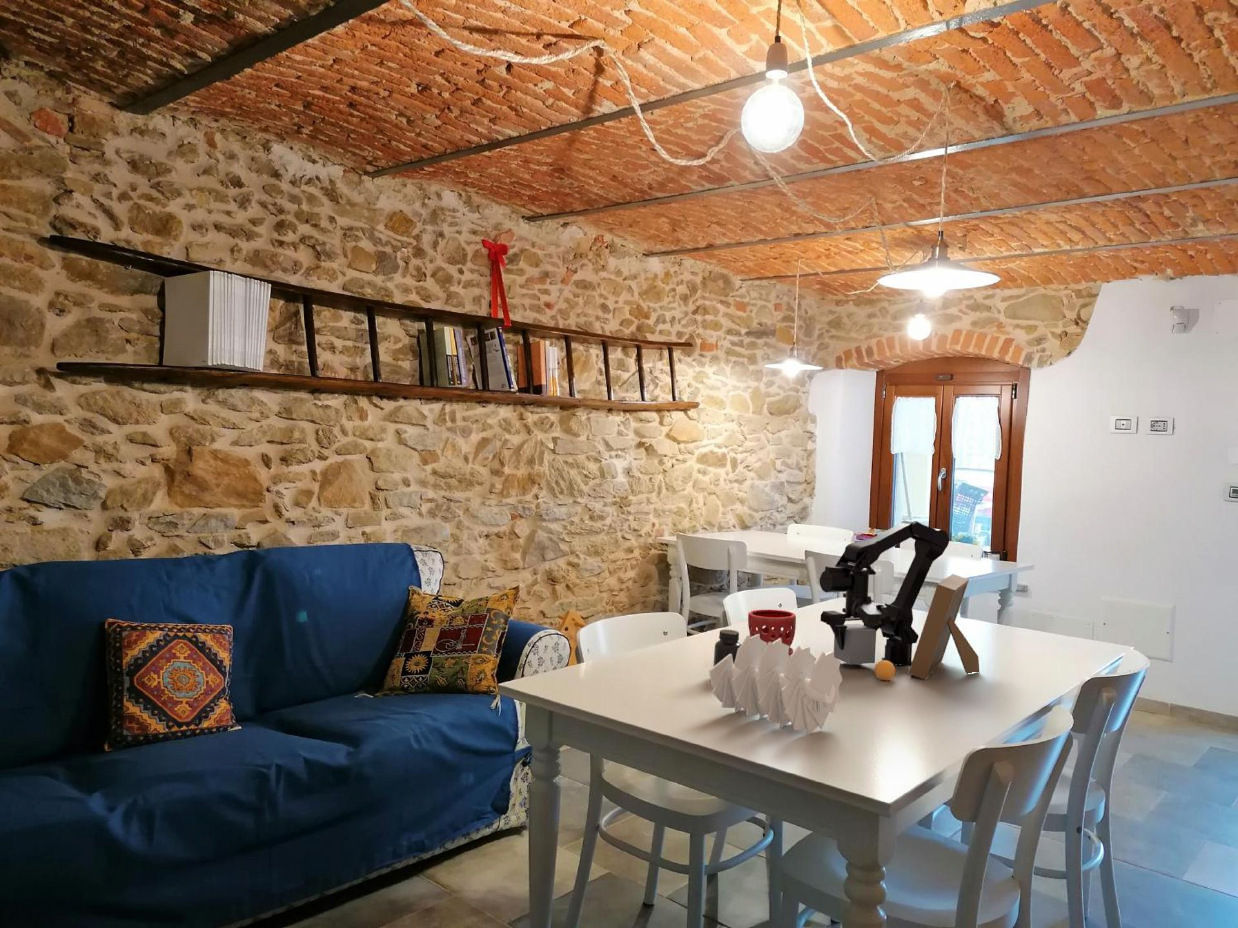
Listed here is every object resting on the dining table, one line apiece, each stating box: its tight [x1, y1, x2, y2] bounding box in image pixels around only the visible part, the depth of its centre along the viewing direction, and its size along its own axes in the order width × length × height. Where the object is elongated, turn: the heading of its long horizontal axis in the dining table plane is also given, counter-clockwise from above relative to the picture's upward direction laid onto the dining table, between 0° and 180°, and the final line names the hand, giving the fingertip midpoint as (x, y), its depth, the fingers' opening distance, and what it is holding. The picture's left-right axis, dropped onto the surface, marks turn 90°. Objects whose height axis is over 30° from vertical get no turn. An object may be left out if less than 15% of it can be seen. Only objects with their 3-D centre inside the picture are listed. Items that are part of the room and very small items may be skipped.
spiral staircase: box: [708, 634, 843, 736], centre depth 180 cm, size 18×18×25 cm
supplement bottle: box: [712, 629, 742, 668], centre depth 211 cm, size 7×7×12 cm
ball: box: [874, 659, 896, 681], centre depth 216 cm, size 5×5×5 cm
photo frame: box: [908, 573, 980, 680], centre depth 224 cm, size 15×22×25 cm
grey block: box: [833, 623, 877, 665], centre depth 228 cm, size 8×8×9 cm
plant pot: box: [747, 609, 797, 657], centre depth 236 cm, size 13×13×12 cm
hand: (854, 648), depth 228 cm, fingers closed on grey block, 8 cm apart
